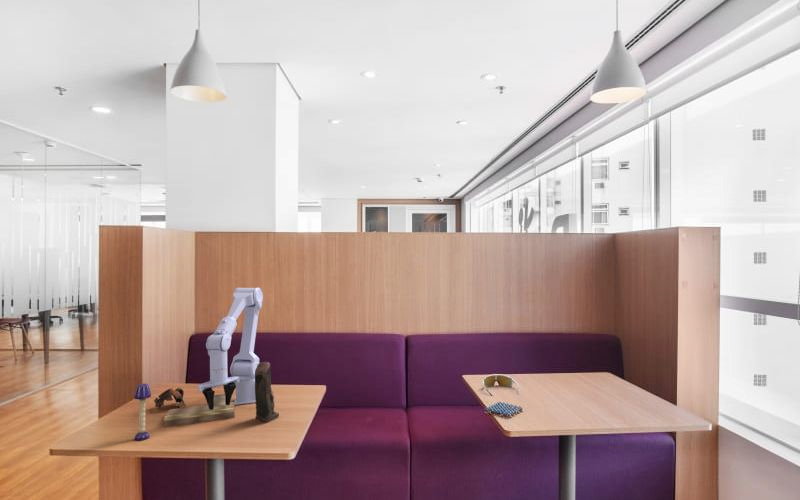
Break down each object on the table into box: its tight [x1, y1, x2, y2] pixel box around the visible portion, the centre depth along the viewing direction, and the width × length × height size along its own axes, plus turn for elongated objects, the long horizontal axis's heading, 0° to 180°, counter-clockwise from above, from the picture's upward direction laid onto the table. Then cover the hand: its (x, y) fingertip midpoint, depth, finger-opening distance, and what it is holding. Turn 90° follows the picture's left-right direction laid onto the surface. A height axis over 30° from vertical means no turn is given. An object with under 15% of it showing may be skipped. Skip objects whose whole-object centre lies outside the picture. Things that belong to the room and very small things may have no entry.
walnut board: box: [164, 401, 236, 427], centre depth 163 cm, size 22×12×4 cm, turn 110°
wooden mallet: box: [213, 393, 226, 410], centre depth 165 cm, size 4×10×5 cm, turn 20°
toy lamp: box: [133, 383, 152, 441], centre depth 144 cm, size 5×5×17 cm
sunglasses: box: [482, 373, 521, 397], centre depth 187 cm, size 14×15×5 cm
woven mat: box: [483, 401, 524, 420], centre depth 162 cm, size 10×11×2 cm
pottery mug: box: [153, 387, 186, 409], centre depth 174 cm, size 12×10×8 cm
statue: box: [255, 361, 280, 423], centre depth 159 cm, size 7×7×20 cm
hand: (219, 406), depth 162 cm, fingers closed on wooden mallet, 5 cm apart
